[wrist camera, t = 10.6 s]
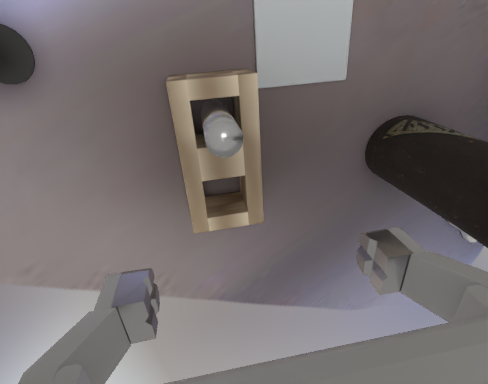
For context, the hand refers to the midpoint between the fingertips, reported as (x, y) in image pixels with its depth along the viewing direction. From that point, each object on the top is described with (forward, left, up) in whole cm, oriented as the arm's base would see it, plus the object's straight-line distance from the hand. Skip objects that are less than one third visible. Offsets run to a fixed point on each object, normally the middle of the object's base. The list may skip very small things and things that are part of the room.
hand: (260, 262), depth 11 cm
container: (-23, +6, -24) cm, 34 cm away
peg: (0, -1, -23) cm, 23 cm away
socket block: (0, +3, -23) cm, 24 cm away
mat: (-10, -7, -23) cm, 26 cm away
